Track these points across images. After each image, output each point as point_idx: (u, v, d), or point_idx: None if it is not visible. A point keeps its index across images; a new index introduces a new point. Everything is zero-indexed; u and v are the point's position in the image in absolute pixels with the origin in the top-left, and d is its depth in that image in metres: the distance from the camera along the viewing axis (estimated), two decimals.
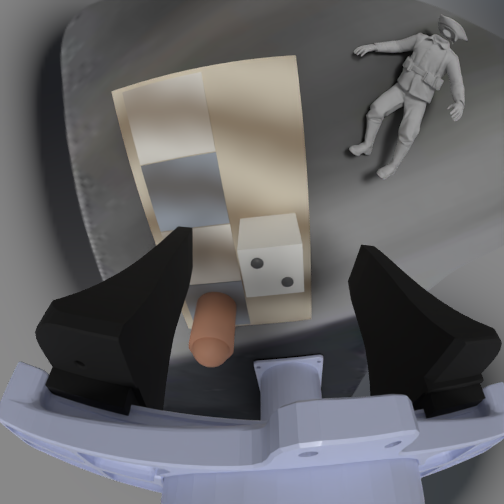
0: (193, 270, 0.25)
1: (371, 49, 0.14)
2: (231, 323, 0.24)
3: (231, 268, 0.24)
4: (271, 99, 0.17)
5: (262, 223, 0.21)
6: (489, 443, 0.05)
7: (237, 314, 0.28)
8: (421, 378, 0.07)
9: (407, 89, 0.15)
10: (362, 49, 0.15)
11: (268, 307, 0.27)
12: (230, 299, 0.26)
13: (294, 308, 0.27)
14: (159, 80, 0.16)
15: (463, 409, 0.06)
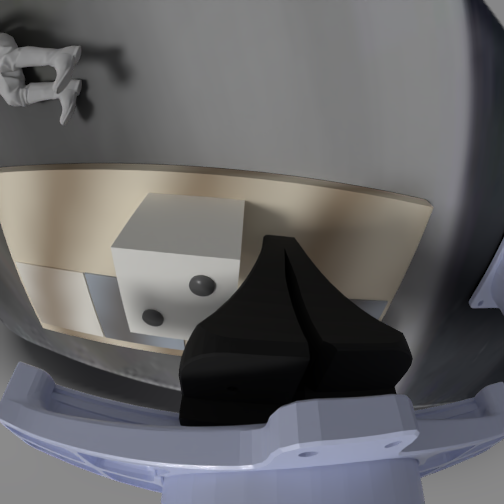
0: None
1: None
2: None
3: None
4: (26, 204, 0.12)
5: None
6: (489, 443, 0.05)
7: None
8: (302, 385, 0.07)
9: None
10: None
11: (368, 270, 0.14)
12: None
13: (392, 231, 0.13)
14: (29, 293, 0.16)
15: None
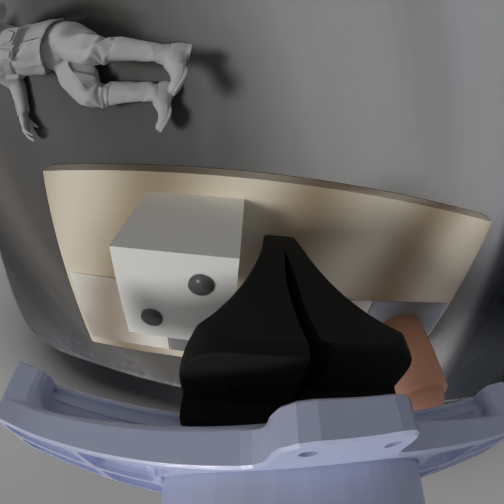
0: None
1: (22, 123, 0.10)
2: (412, 353, 0.13)
3: None
4: (95, 208, 0.12)
5: None
6: (489, 443, 0.05)
7: (424, 314, 0.16)
8: (302, 385, 0.07)
9: (42, 65, 0.07)
10: None
11: (437, 276, 0.14)
12: (393, 322, 0.15)
13: (461, 242, 0.13)
14: (81, 306, 0.16)
15: None
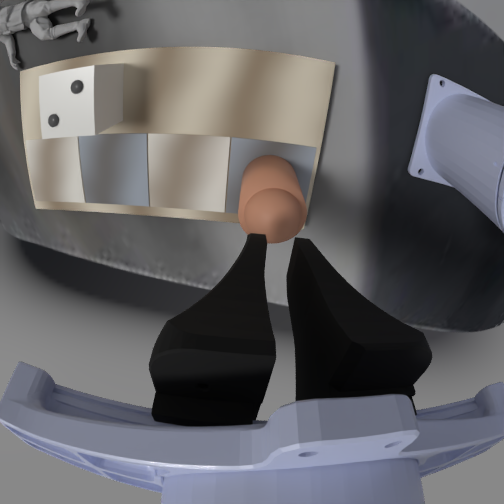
0: (203, 188, 0.20)
1: (11, 60, 0.13)
2: (262, 170, 0.16)
3: (208, 144, 0.18)
4: None
5: None
6: (489, 443, 0.05)
7: (293, 159, 0.19)
8: (327, 385, 0.07)
9: (22, 23, 0.11)
10: (12, 66, 0.13)
11: (291, 114, 0.17)
12: (256, 159, 0.18)
13: (304, 80, 0.16)
14: (30, 171, 0.19)
15: None
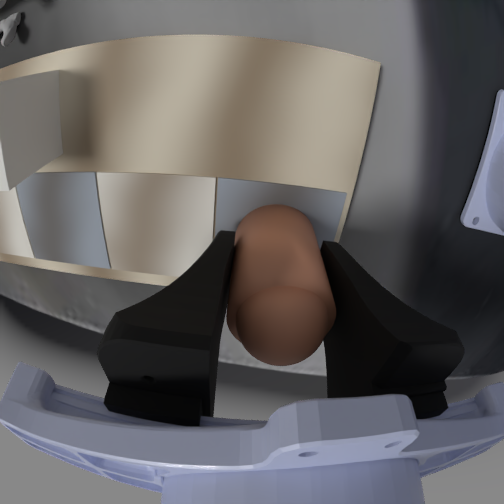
0: (180, 250, 0.14)
1: None
2: (266, 241, 0.10)
3: (183, 188, 0.12)
4: None
5: None
6: (489, 443, 0.05)
7: (312, 209, 0.13)
8: (369, 383, 0.07)
9: None
10: None
11: (310, 142, 0.11)
12: (255, 212, 0.12)
13: (332, 88, 0.10)
14: None
15: (421, 419, 0.06)
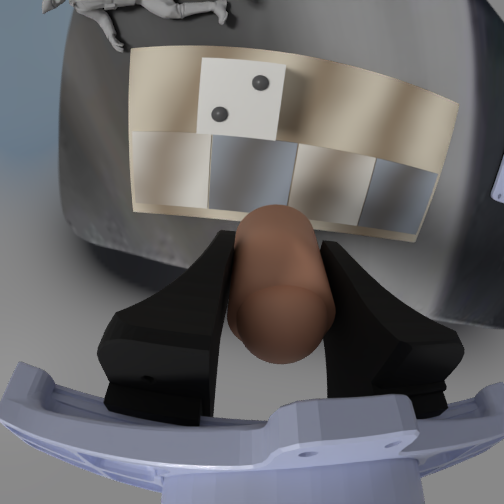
0: (343, 203, 0.20)
1: (113, 40, 0.14)
2: (266, 241, 0.10)
3: (356, 162, 0.19)
4: (169, 72, 0.16)
5: None
6: (489, 443, 0.05)
7: (420, 182, 0.19)
8: (369, 383, 0.07)
9: None
10: (115, 47, 0.14)
11: (424, 143, 0.18)
12: (256, 212, 0.13)
13: (437, 116, 0.16)
14: (133, 168, 0.19)
15: (421, 419, 0.06)
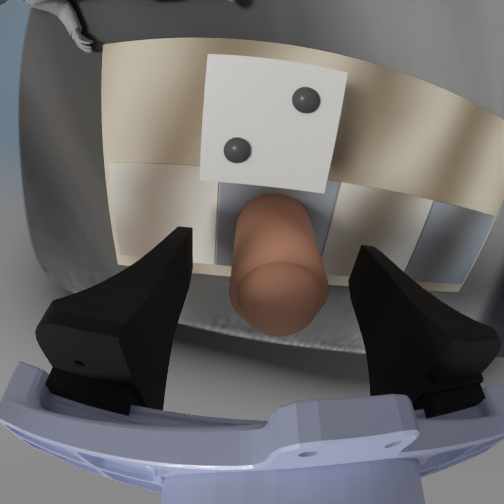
0: (388, 255, 0.16)
1: (77, 36, 0.09)
2: (265, 224, 0.11)
3: (410, 206, 0.14)
4: (158, 78, 0.11)
5: None
6: (489, 443, 0.05)
7: (475, 226, 0.14)
8: (421, 378, 0.07)
9: None
10: (81, 46, 0.09)
11: (486, 181, 0.13)
12: (255, 200, 0.14)
13: (502, 147, 0.11)
14: (113, 211, 0.14)
15: (463, 409, 0.06)
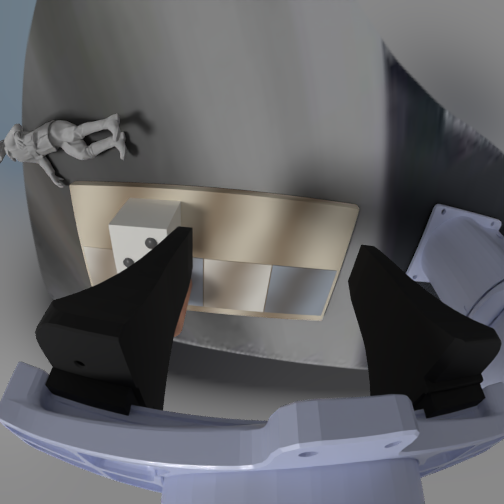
0: (248, 297, 0.26)
1: (53, 179, 0.20)
2: None
3: (254, 269, 0.24)
4: (100, 206, 0.21)
5: None
6: (489, 443, 0.05)
7: (318, 278, 0.25)
8: (421, 378, 0.07)
9: (53, 147, 0.17)
10: (57, 185, 0.20)
11: (320, 249, 0.23)
12: None
13: (333, 224, 0.22)
14: (89, 270, 0.25)
15: (463, 409, 0.06)
